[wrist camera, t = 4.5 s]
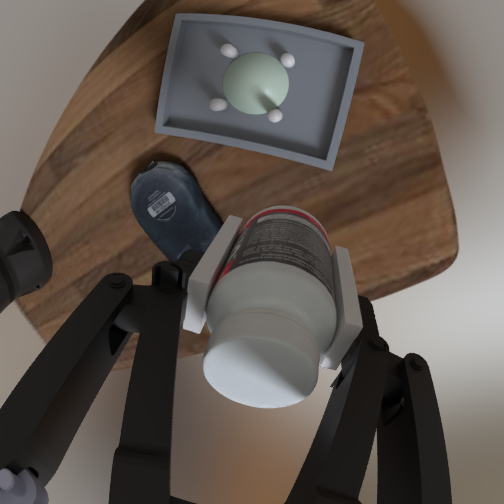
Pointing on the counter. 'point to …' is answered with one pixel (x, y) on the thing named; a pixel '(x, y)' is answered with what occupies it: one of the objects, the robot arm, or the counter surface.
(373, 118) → the counter surface
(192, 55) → the tray
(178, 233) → the electronic device
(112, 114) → the counter surface
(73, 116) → the counter surface
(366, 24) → the counter surface
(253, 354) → the pill bottle
